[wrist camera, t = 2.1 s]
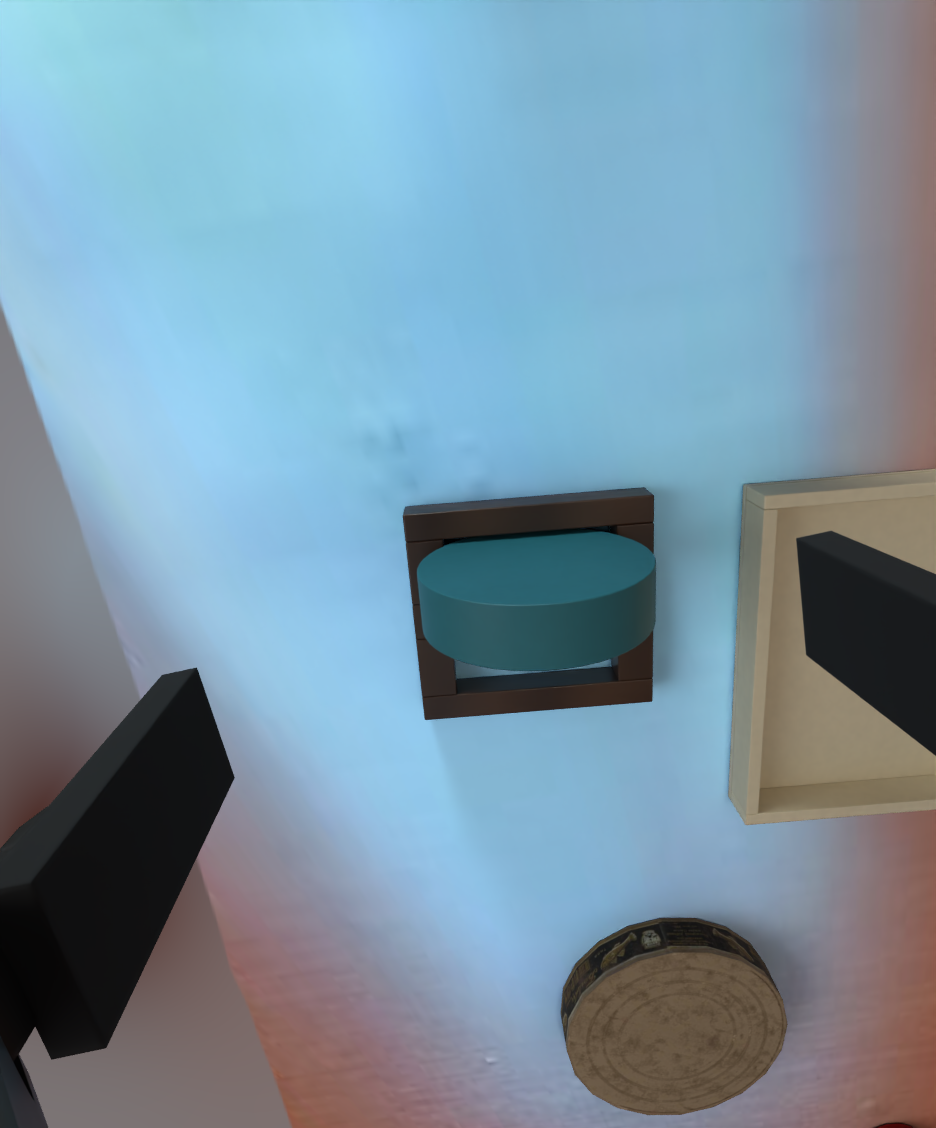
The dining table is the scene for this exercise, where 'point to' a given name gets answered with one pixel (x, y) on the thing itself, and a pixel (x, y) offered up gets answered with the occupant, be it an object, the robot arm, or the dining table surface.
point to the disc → (538, 598)
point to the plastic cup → (895, 1126)
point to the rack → (536, 690)
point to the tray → (799, 685)
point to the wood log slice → (671, 1017)
